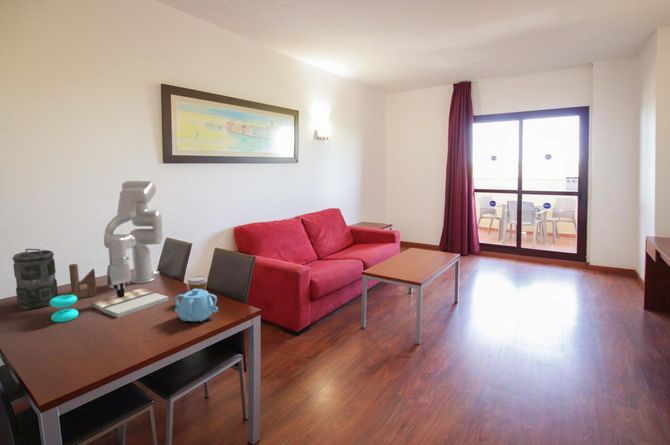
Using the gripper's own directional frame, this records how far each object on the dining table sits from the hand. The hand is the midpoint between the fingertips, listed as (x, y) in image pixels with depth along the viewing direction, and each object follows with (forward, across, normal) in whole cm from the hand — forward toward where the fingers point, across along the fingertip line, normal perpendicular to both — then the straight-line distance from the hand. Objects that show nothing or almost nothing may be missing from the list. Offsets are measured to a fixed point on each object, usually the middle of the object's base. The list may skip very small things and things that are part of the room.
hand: (120, 296), depth 190 cm
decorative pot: (+3, -7, +49) cm, 50 cm away
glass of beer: (+3, -22, +32) cm, 39 cm away
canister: (+3, +24, -30) cm, 39 cm away
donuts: (+3, +26, +1) cm, 26 cm away
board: (+3, 0, +13) cm, 14 cm away
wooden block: (+3, +7, -22) cm, 24 cm away
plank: (+2, 0, +2) cm, 3 cm away
